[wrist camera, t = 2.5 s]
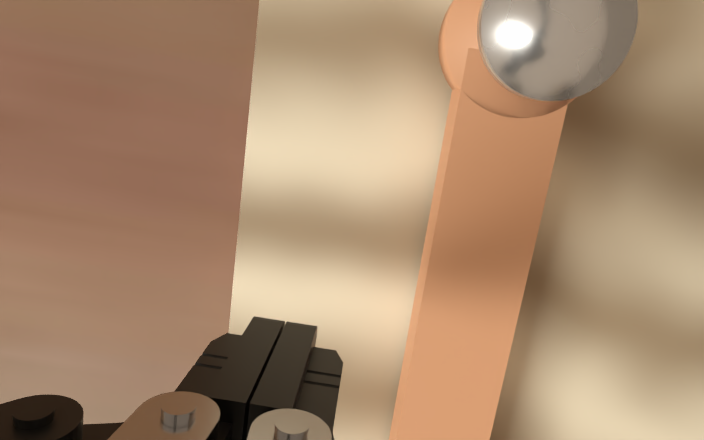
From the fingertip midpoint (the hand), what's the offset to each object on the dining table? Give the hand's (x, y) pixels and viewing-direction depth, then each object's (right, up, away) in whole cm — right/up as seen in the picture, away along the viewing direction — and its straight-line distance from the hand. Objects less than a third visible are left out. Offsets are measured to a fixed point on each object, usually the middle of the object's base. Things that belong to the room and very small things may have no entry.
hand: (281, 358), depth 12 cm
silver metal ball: (+6, +8, +2) cm, 11 cm away
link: (+6, +2, +6) cm, 8 cm away
